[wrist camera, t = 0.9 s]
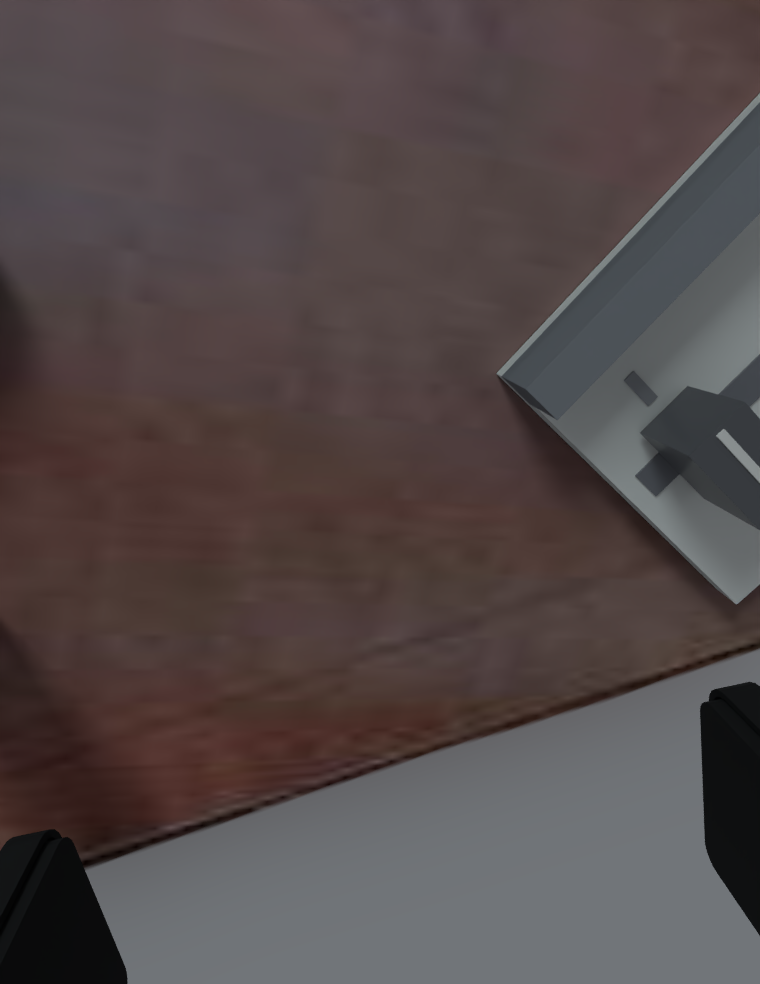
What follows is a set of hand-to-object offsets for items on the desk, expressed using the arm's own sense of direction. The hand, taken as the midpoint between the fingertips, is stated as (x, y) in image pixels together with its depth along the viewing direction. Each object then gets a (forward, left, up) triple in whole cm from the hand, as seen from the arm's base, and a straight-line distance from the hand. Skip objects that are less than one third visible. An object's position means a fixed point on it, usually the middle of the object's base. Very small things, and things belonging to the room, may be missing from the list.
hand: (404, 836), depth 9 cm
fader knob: (-12, +12, -22) cm, 27 cm away
